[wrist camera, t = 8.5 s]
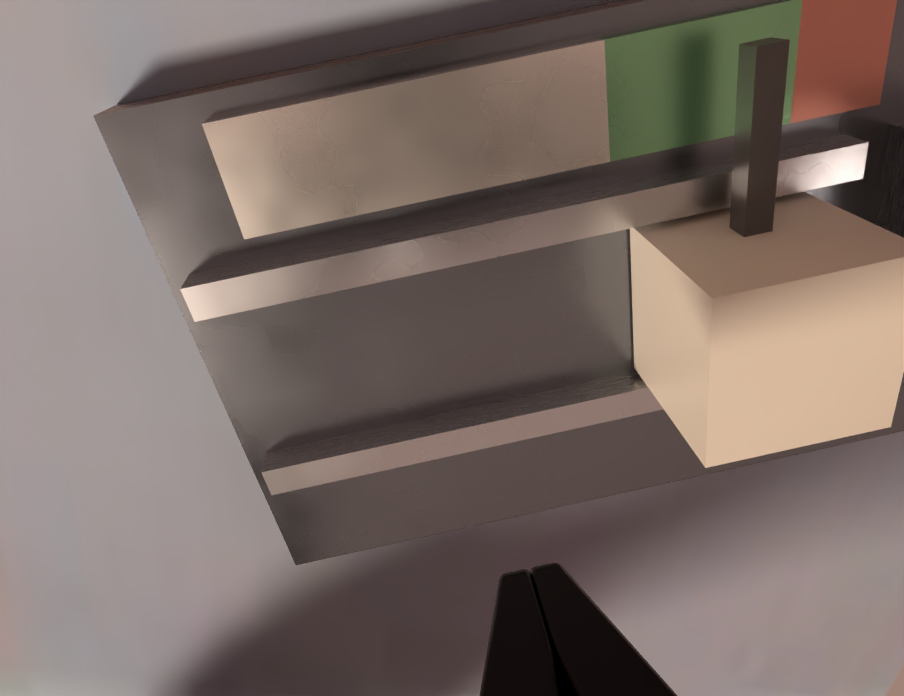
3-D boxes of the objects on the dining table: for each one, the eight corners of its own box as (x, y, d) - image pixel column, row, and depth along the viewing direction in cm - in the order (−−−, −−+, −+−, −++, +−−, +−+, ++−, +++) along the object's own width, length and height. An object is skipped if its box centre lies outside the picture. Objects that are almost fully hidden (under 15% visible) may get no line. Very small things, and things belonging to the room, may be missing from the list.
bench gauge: (299, 534, 20) (280, 695, 15) (114, 105, 13) (-14, 167, 9) (882, 406, 20) (1031, 526, 16) (988, -77, 13) (1300, -108, 9)
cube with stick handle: (634, 367, 17) (705, 467, 13) (624, 56, 13) (721, 82, 9) (781, 335, 17) (890, 426, 13) (816, 16, 13) (984, 26, 9)
